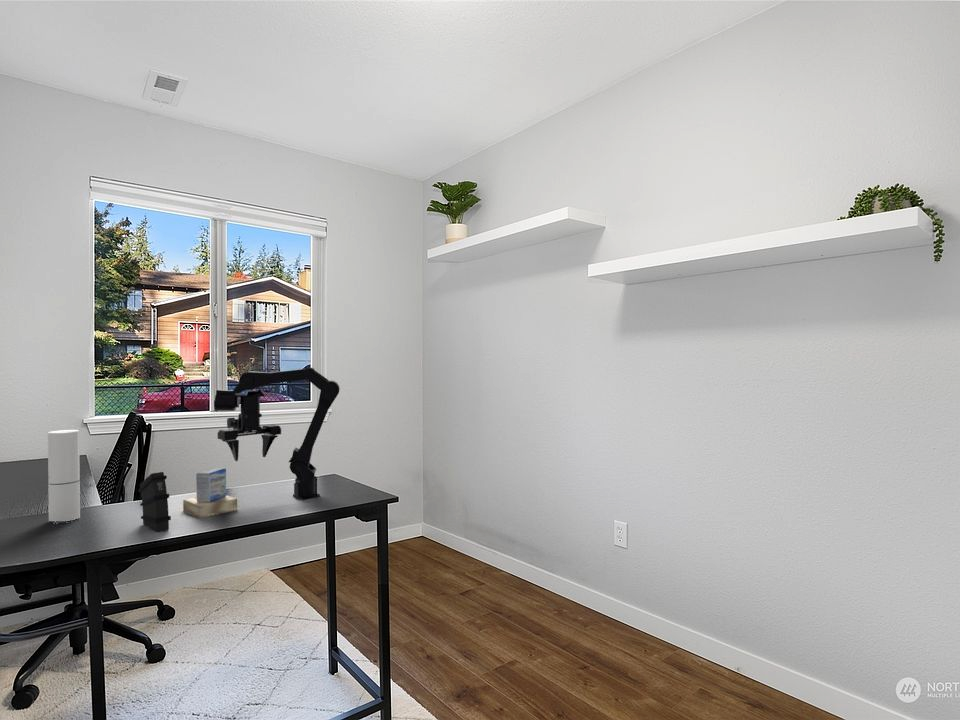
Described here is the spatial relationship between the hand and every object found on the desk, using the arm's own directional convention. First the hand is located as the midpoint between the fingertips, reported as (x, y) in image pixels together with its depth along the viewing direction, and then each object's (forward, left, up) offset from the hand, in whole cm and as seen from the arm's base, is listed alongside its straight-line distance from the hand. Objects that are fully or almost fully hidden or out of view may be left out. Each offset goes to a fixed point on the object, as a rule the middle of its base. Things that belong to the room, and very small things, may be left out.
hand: (250, 458), depth 183 cm
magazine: (+31, +8, -13) cm, 35 cm away
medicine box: (+14, +4, -10) cm, 17 cm away
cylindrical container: (+46, -17, -13) cm, 51 cm away
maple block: (+14, +4, -14) cm, 20 cm away
